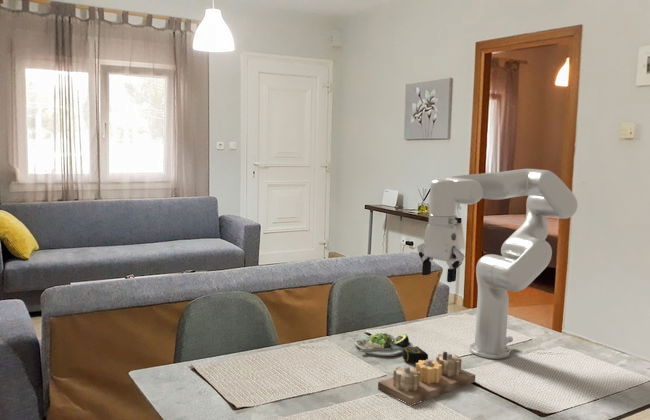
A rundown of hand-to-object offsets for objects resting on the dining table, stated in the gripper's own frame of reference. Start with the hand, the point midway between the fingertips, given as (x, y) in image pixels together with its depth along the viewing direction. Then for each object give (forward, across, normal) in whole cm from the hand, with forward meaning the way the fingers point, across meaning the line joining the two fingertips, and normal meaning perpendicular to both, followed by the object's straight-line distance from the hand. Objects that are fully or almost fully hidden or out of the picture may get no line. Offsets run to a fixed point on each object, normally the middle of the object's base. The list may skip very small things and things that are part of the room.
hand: (438, 278), depth 173 cm
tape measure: (+27, +5, +3) cm, 27 cm away
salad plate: (+27, +18, +3) cm, 33 cm away
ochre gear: (+24, -10, +14) cm, 30 cm away
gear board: (+26, -10, +14) cm, 31 cm away
